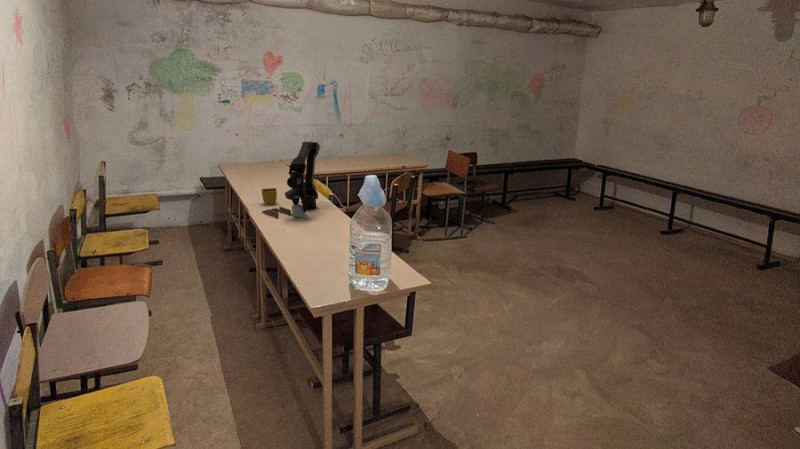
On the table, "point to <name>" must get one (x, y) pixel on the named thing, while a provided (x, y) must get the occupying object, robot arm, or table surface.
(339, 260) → the table surface
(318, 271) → the table surface
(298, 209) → the block
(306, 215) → the coaster
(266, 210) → the tray
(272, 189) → the flower pot
